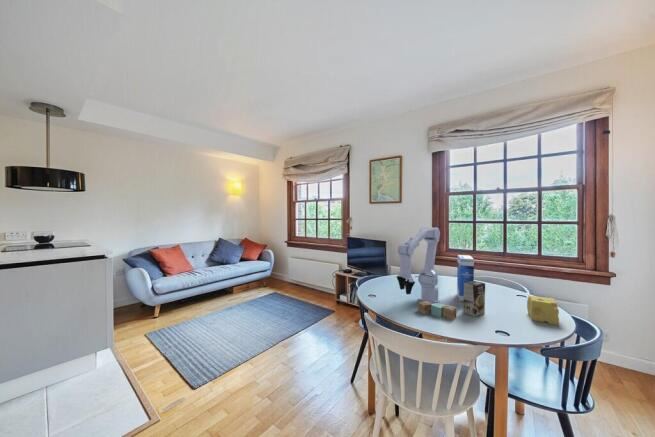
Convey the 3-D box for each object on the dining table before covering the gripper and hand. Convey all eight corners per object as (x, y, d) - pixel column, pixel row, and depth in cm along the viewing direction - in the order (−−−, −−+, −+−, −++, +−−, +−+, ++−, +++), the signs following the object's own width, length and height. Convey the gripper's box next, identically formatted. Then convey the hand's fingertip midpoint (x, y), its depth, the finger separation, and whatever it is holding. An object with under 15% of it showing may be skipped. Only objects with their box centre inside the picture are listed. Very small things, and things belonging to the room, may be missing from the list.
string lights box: (473, 303, 144) (474, 259, 143) (458, 301, 146) (459, 258, 145) (469, 295, 156) (470, 255, 155) (456, 294, 159) (457, 254, 158)
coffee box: (474, 317, 125) (475, 285, 124) (462, 312, 130) (463, 282, 130) (485, 313, 129) (486, 283, 128) (473, 309, 135) (473, 280, 134)
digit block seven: (445, 314, 128) (446, 304, 128) (456, 317, 125) (456, 307, 125) (442, 317, 125) (442, 307, 124) (453, 320, 121) (453, 310, 121)
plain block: (435, 311, 131) (435, 302, 131) (445, 315, 127) (445, 305, 127) (431, 314, 128) (431, 305, 128) (440, 317, 124) (440, 307, 124)
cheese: (559, 325, 116) (559, 304, 115) (529, 320, 121) (530, 300, 121) (553, 317, 124) (554, 298, 124) (526, 312, 130) (527, 294, 130)
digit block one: (426, 310, 134) (426, 300, 133) (432, 313, 129) (432, 304, 129) (417, 310, 132) (418, 301, 132) (423, 314, 128) (423, 304, 127)
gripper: (393, 263, 139) (392, 287, 140) (404, 270, 125) (403, 296, 125) (404, 263, 140) (404, 287, 141) (417, 269, 126) (417, 295, 126)
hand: (405, 291), depth 133 cm, fingers open, 7 cm apart
